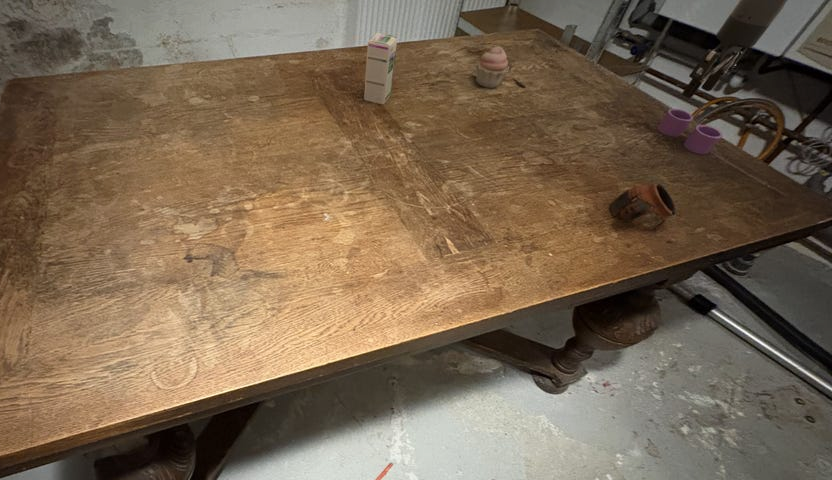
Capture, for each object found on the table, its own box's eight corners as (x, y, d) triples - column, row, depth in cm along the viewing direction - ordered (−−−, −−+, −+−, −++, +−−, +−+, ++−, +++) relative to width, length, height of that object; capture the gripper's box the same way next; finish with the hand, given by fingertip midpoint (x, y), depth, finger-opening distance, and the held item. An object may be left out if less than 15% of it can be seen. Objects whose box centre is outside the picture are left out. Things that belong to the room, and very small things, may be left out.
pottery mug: (616, 195, 88) (658, 173, 82) (639, 233, 87) (684, 214, 81) (597, 205, 80) (642, 182, 74) (623, 247, 79) (670, 227, 73)
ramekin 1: (665, 122, 109) (676, 106, 105) (685, 133, 106) (698, 117, 102) (652, 127, 106) (663, 111, 103) (672, 139, 103) (685, 122, 100)
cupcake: (484, 93, 113) (496, 55, 105) (464, 78, 118) (474, 41, 110) (510, 88, 116) (524, 50, 108) (489, 73, 121) (501, 37, 113)
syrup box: (384, 105, 105) (391, 45, 94) (362, 100, 107) (367, 39, 95) (390, 95, 109) (398, 36, 98) (370, 90, 110) (375, 31, 99)
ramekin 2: (691, 139, 104) (704, 122, 101) (713, 150, 101) (727, 134, 98) (678, 144, 102) (691, 128, 98) (700, 156, 99) (714, 140, 96)
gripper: (752, 28, 81) (694, 106, 94) (786, 19, 86) (726, 94, 99) (716, 15, 85) (664, 91, 98) (750, 7, 90) (697, 80, 103)
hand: (696, 93), depth 98 cm, fingers open, 8 cm apart
